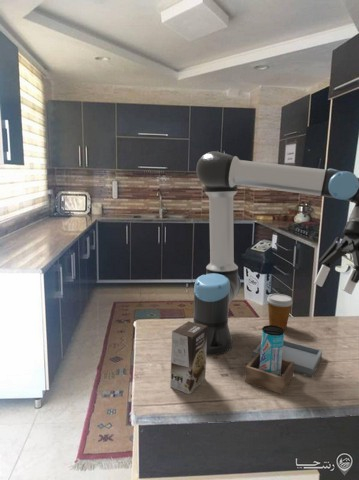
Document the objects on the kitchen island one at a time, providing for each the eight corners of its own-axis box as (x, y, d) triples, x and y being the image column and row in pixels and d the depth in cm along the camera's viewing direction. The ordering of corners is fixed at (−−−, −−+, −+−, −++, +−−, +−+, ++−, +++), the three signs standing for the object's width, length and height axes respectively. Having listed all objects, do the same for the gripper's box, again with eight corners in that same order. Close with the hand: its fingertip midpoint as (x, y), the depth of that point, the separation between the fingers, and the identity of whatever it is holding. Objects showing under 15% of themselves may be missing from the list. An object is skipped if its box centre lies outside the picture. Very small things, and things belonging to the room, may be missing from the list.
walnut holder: (244, 381, 99) (245, 366, 98) (258, 365, 108) (259, 351, 107) (282, 394, 93) (283, 379, 92) (293, 376, 102) (294, 361, 101)
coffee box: (190, 395, 92) (192, 337, 89) (169, 387, 95) (170, 331, 92) (206, 379, 99) (208, 325, 97) (186, 372, 103) (188, 320, 100)
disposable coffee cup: (291, 333, 130) (294, 302, 128) (265, 330, 132) (267, 300, 130) (289, 323, 140) (291, 294, 137) (264, 320, 141) (266, 292, 139)
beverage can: (262, 371, 104) (265, 323, 102) (282, 377, 101) (286, 328, 99) (256, 380, 99) (259, 330, 97) (276, 387, 96) (281, 336, 94)
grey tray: (252, 358, 111) (253, 351, 111) (267, 342, 123) (267, 335, 122) (312, 377, 102) (312, 369, 101) (321, 357, 113) (322, 350, 113)
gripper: (404, 230, 95) (372, 301, 93) (342, 230, 119) (316, 287, 117) (383, 217, 93) (350, 289, 92) (325, 220, 118) (298, 277, 116)
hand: (331, 288), depth 104 cm, fingers open, 13 cm apart
